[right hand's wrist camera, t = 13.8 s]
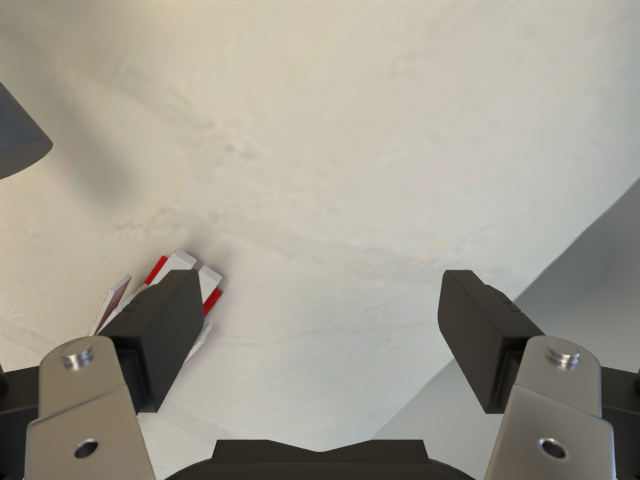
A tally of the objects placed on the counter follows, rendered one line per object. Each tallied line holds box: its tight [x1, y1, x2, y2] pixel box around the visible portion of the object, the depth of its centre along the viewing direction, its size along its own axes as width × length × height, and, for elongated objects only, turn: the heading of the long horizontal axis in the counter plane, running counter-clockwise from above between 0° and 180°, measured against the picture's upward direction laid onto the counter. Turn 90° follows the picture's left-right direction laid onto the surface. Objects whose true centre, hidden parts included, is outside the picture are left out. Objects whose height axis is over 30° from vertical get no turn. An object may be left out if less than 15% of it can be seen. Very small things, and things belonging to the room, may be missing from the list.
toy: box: [88, 248, 222, 366], centre depth 44 cm, size 12×13×30 cm
